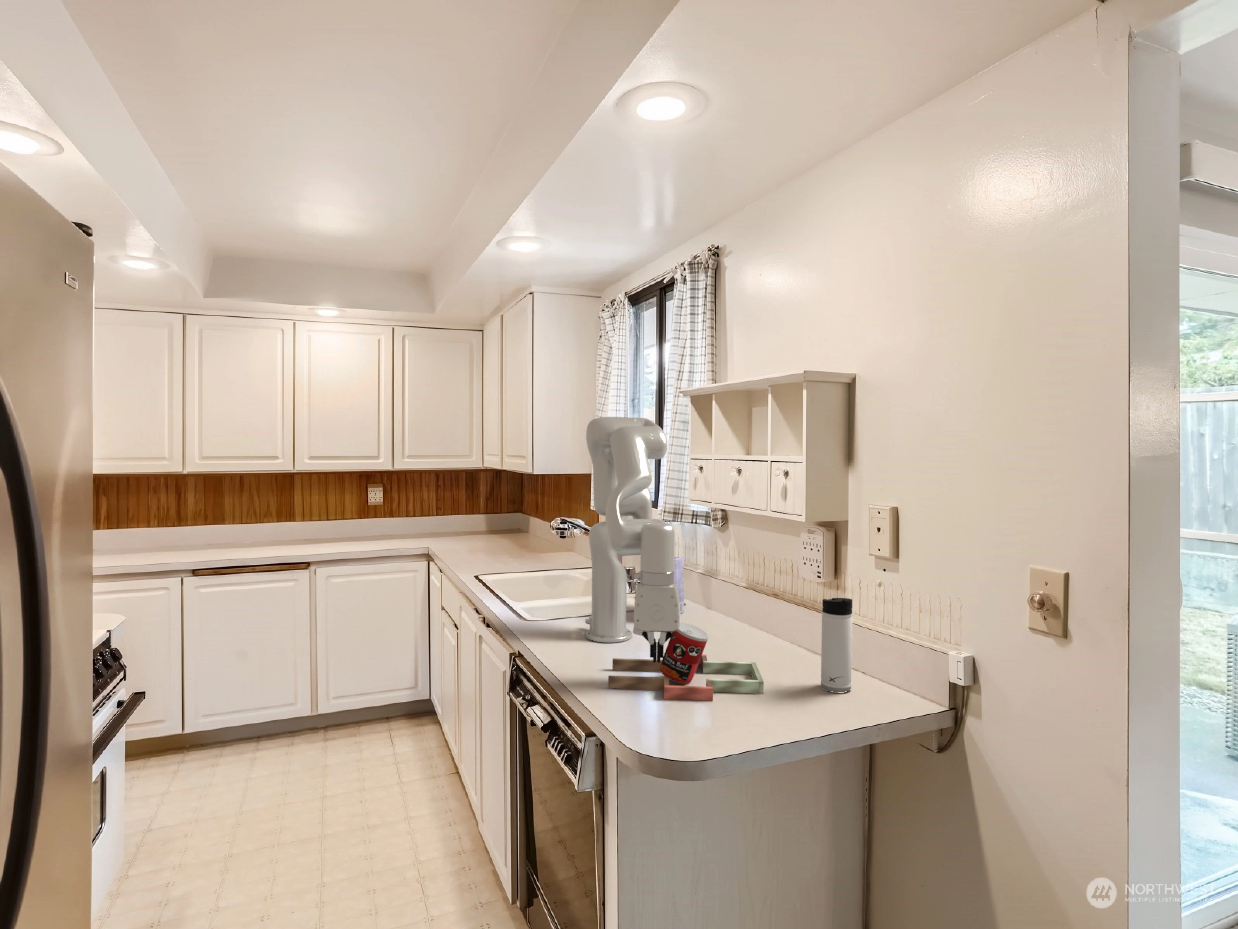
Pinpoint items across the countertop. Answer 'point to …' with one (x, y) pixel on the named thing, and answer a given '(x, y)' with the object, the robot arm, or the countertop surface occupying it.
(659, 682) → the box
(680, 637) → the canned food
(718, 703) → the countertop surface
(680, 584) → the cake pan box
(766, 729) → the countertop surface
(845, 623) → the travel mug
